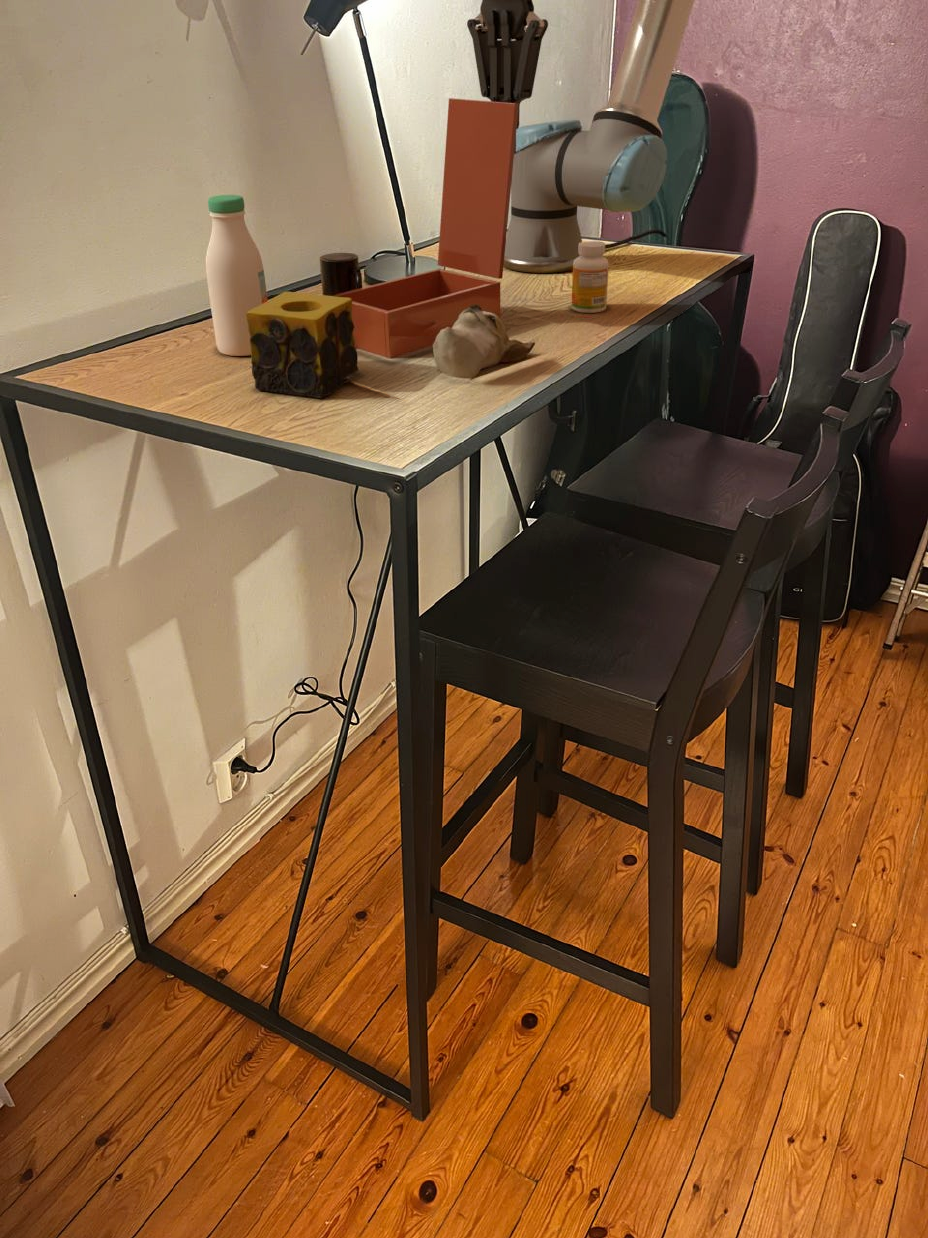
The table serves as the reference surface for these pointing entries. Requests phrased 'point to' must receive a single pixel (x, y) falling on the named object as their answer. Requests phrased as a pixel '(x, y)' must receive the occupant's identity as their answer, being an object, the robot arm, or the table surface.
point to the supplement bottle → (590, 278)
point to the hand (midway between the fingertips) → (505, 153)
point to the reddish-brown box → (416, 309)
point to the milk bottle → (232, 274)
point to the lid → (477, 185)
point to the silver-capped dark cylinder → (340, 273)
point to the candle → (302, 344)
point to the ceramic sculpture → (475, 344)
